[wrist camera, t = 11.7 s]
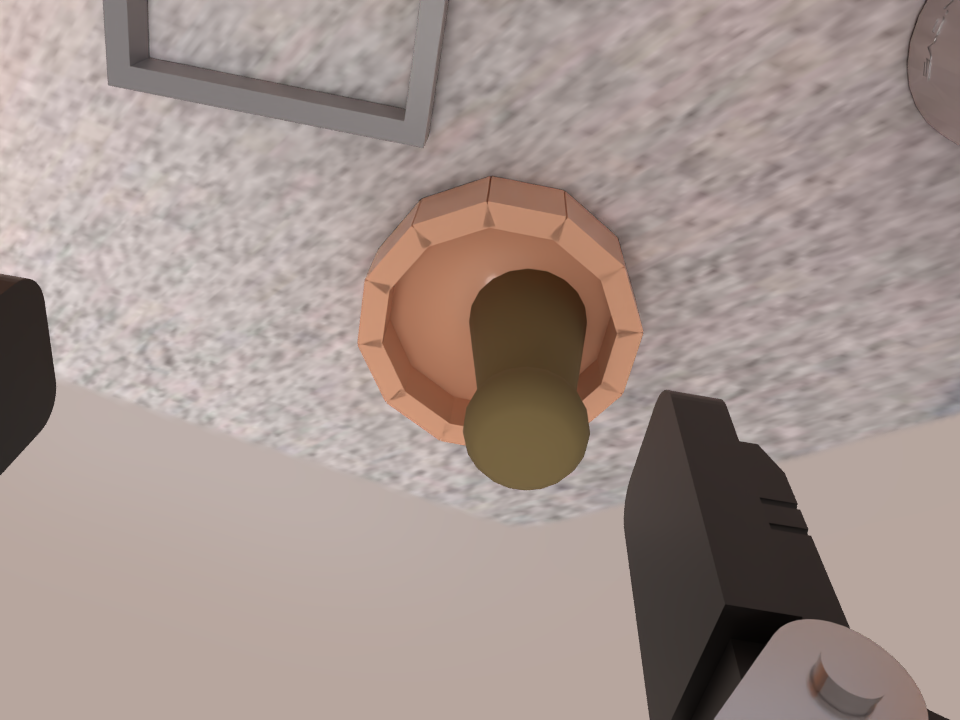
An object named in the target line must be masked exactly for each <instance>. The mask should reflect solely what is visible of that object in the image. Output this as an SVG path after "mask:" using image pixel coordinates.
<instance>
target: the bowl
mask: <svg viewBox="0 0 960 720" xmlns="http://www.w3.org/2000/svg"><path fill="white" fill-rule="evenodd" d="M528 268H529V269H535V270H542V271H548V272H550V273H552V274H554V275H556V276H558V277H560V278H562V279H564V280H565V281H567V282H568V283H569V284H570V285H571V286H572V287H573V288H574V289H575V290H576V291H577V292H578V294H579V296H580V298H581V300H582V302H583V304H584V306H585V310H586V318H587V327H586V334H585V340H584V347H583V353H582V360H581V366H580V373H579V379H578V386H577V393H578V394H579V396H580V398H581V400H582V402H583V403H584V405H585V407H586V409H587V414H588V422H589V423H590V422H591V421H592V420H593V419H594V418H596V417H597V416H598V415H599V414H600V413H601V412H603V411H604V410H605V409H606V408H607V407H608V406H610V405H611V404H612V403H613V402H614V401H616V400H617V399H618V398H619V397H620V396H621V395H622V393H623V392H624V389H625V386H626V383H627V380H628V377H629V374H630V371H631V369H632V366H633V363H634V360H635V357H636V354H637V351H638V348H639V345H640V342H641V339H642V336H643V329H642V325H641V320H640V316H639V312H638V308H637V304H636V300H635V296H634V293H633V289H632V286H631V282H630V279H629V275H628V272H627V268H626V265H625V261H624V258H623V254H622V251H621V247H620V244H619V240H618V238H617V236H616V235H615V234H613V233H612V232H611V231H610V230H609V229H608V228H607V227H605V226H604V225H603V224H602V223H601V222H600V221H599V220H597V219H596V218H595V217H594V216H593V215H592V214H591V213H590V212H588V211H587V210H586V209H585V208H584V207H583V206H582V205H580V204H579V203H578V202H577V201H576V200H575V199H574V198H572V197H571V196H570V195H569V194H568V193H567V192H566V191H565V192H564V190H560V189H554V188H549V187H544V186H539V185H534V184H529V183H524V182H519V181H514V180H509V179H504V178H499V177H494V176H492V178H490V176H489V177H486V178H483V179H480V180H477V181H474V182H471V183H468V184H465V185H462V186H459V187H456V188H453V189H450V190H447V191H443V192H440V193H437V194H434V195H431V196H428V197H425V198H422V200H420V201H419V202H418V203H417V204H416V206H415V207H414V208H413V209H412V210H411V211H410V213H409V214H408V215H407V216H406V217H405V218H404V220H403V221H402V222H401V223H400V224H399V225H398V227H397V228H396V229H395V230H394V231H393V233H392V234H391V235H390V236H389V237H388V238H387V240H386V241H385V242H384V243H383V244H382V245H381V247H380V248H379V249H378V251H377V253H376V255H375V258H374V260H373V262H372V265H371V267H370V269H369V272H368V274H367V276H366V279H365V283H364V292H363V300H362V309H361V317H360V326H359V334H358V343H357V344H358V347H359V349H360V351H361V353H362V355H363V357H364V359H365V361H366V363H367V365H368V367H369V369H370V371H371V373H372V375H373V377H374V379H375V381H376V383H377V386H378V388H379V390H380V392H381V394H382V396H383V398H384V400H385V402H386V401H387V404H389V405H390V406H392V407H393V408H394V409H396V410H397V411H399V412H400V413H402V414H403V415H404V416H406V417H407V418H409V419H410V420H411V421H413V422H414V423H416V424H417V425H418V426H420V427H421V428H423V429H424V430H426V431H427V432H428V433H430V434H431V435H433V436H434V437H435V438H437V439H438V440H440V439H441V441H444V442H449V443H455V444H460V445H466V444H465V439H464V435H463V426H464V420H465V413H466V407H467V406H468V404H469V402H470V400H471V399H472V397H473V395H474V394H475V392H476V390H477V384H476V376H475V368H474V360H473V351H472V343H471V335H470V327H469V318H470V311H471V306H472V304H473V302H474V300H475V298H476V296H477V294H478V293H479V291H480V290H481V289H482V288H483V287H484V286H485V285H486V284H488V283H489V282H490V281H491V280H492V279H493V278H496V277H498V276H500V275H502V274H504V273H506V272H509V271H514V270H521V269H528Z"/></svg>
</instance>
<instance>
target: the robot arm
mask: <svg viewBox="0 0 960 720" xmlns="http://www.w3.org/2000/svg"><path fill="white" fill-rule="evenodd" d="M907 65H908V76H909V87H910V90H911V93H912V96H913V99H914V102H915V104H916V107H917V108H918V110H919V111H920V113H921V114H922V116H923V117H924V119H925V120H926V121H927V123H928V124H930V125H931V126H932V127H933V128H934V129H936V130H937V131H938V132H939V133H940V134H942V135H943V136H945V137H946V138H948V139H949V140H951V141H953V142H954V143H956V144H958V145H959V146H960V0H927V2H926V4H925V6H924V8H923V10H922V11H921V13H920V15H919V17H918V20H917V23H916V26H915V29H914V32H913V35H912V38H911V42H910V49H909V57H908V64H907ZM55 396H56V379H55V372H54V365H53V358H52V351H51V344H50V337H49V330H48V322H47V315H46V308H45V301H44V296H43V293H42V290H41V288H40V287H39V285H38V284H37V283H36V282H35V281H33V280H31V279H27V278H21V277H16V276H10V275H4V274H0V475H1V474H2V473H3V472H4V471H5V470H6V468H7V467H8V466H9V465H10V464H11V463H12V462H13V461H14V460H15V459H16V458H17V457H18V455H19V454H20V453H21V452H22V451H23V450H24V449H25V448H26V447H27V446H28V445H29V443H30V442H31V441H32V440H33V439H34V438H35V437H36V436H37V435H38V433H39V432H40V431H41V430H42V429H43V428H44V426H45V425H46V423H47V421H48V419H49V417H50V414H51V412H52V409H53V406H54V401H55ZM624 531H625V539H626V546H627V553H628V560H629V569H630V576H631V583H632V591H633V598H634V606H635V613H636V621H637V628H638V636H639V642H640V650H641V658H642V666H643V673H644V680H645V688H646V695H647V703H648V710H649V717H650V720H949V719H947V718H944V717H942V716H940V715H938V714H936V713H934V712H932V711H930V710H928V709H927V708H926V704H925V701H924V699H923V696H922V694H921V692H920V690H919V688H918V687H917V685H916V683H915V682H914V680H913V679H912V677H911V676H910V675H909V674H908V672H907V671H906V670H905V668H904V667H903V666H902V665H901V664H900V663H899V662H898V661H897V660H896V659H895V658H894V657H893V656H891V655H890V654H889V653H888V652H887V651H885V650H884V649H883V648H882V647H881V646H879V645H878V644H876V643H875V642H873V641H872V640H871V639H869V638H867V637H865V636H863V635H861V634H860V633H858V632H856V631H854V630H852V629H850V628H849V625H848V623H847V620H846V618H845V615H844V613H843V611H842V608H841V606H840V603H839V601H838V599H837V596H836V594H835V592H834V589H833V587H832V585H831V582H830V580H829V577H828V575H827V572H826V570H825V568H824V565H823V563H822V561H821V558H820V556H819V554H818V551H817V549H816V547H815V544H814V542H813V539H812V537H811V536H809V535H808V534H807V532H808V527H807V525H806V523H805V521H804V518H803V515H802V513H801V511H800V510H798V509H797V501H796V499H795V496H794V494H793V492H792V489H791V487H790V485H789V482H788V480H787V477H786V475H785V473H784V472H783V471H782V470H781V469H780V468H779V467H778V466H777V464H776V463H775V462H774V461H773V460H772V459H771V458H770V457H769V456H768V455H767V454H766V453H765V452H764V451H763V450H762V448H761V447H760V446H759V445H758V444H752V443H746V442H741V441H739V439H738V437H737V434H736V431H735V428H734V426H733V423H732V420H731V417H730V415H729V412H728V409H727V406H726V404H725V402H724V401H723V400H721V399H716V398H710V397H705V396H699V395H693V394H687V393H681V392H675V391H670V390H664V391H663V392H662V393H661V394H660V396H659V397H658V399H657V402H656V404H655V407H654V410H653V413H652V416H651V419H650V422H649V425H648V428H647V431H646V434H645V437H644V439H643V442H642V445H641V448H640V451H639V454H638V457H637V460H636V463H635V466H634V469H633V472H632V475H631V478H630V481H629V485H628V489H627V494H626V500H625V508H624Z"/></svg>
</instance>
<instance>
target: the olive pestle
mask: <svg viewBox="0 0 960 720" xmlns="http://www.w3.org/2000/svg"><path fill="white" fill-rule="evenodd" d="M469 327H470V335H471V343H472V351H473V360H474V368H475V376H476V384H477V390H476V392H475V394H474V395H473V397H472V399H471V400H470V402H469V404H468V406H467V407H466V413H465V420H464V426H463V435H464V439H465V444H466V448H467V452H468V455H469V456H470V458H471V459H472V461H473V462H474V464H475V465H476V467H477V468H478V469H479V470H480V471H481V472H482V473H484V474H485V475H486V476H487V477H489V478H490V479H491V480H492V481H494V482H496V483H498V484H501V485H503V486H505V487H508V488H512V489H519V490H534V489H542V488H545V487H548V486H551V485H553V484H556V483H558V482H559V481H561V480H562V479H563V478H565V477H566V476H567V475H569V474H570V473H571V472H573V471H574V470H575V468H576V467H577V466H578V464H579V463H580V461H581V460H582V459H583V457H584V454H585V451H586V448H587V444H588V440H589V436H590V430H589V422H588V414H587V409H586V407H585V405H584V403H583V402H582V400H581V398H580V396H579V394H578V393H577V386H578V379H579V373H580V366H581V360H582V353H583V347H584V340H585V334H586V327H587V318H586V310H585V306H584V304H583V302H582V300H581V298H580V296H579V294H578V292H577V291H576V290H575V289H574V288H573V287H572V286H571V285H570V284H569V283H568V282H567V281H565V280H564V279H562V278H560V277H558V276H556V275H554V274H552V273H550V272H548V271H542V270H535V269H529V268H528V269H521V270H514V271H509V272H506V273H504V274H502V275H500V276H498V277H496V278H493V279H492V280H491V281H490V282H489V283H488V284H486V285H485V286H484V287H483V288H482V289H481V290H480V291H479V293H478V294H477V296H476V298H475V300H474V302H473V304H472V306H471V311H470V318H469Z"/></svg>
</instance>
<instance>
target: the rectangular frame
mask: <svg viewBox="0 0 960 720" xmlns="http://www.w3.org/2000/svg"><path fill="white" fill-rule="evenodd" d="M448 3H449V0H420V6H419V13H418V21H417V29H416V36H415V44H414V51H413V59H412V67H411V74H410V82H409V89H408V97H407V105H406V109H402V108H397V107H392V106H387V105H382V104H377V103H372V102H368V101H363V100H358V99H353V98H348V97H343V96H338V95H333V94H328V93H323V92H318V91H313V90H308V89H303V88H298V87H293V86H288V85H283V84H278V83H273V82H268V81H263V80H258V79H253V78H248V77H243V76H238V75H233V74H228V73H223V72H218V71H213V70H208V69H203V68H198V67H193V66H188V65H183V64H178V63H173V62H168V61H164V60H159V59H154V58H149V38H148V9H147V0H103V11H104V28H105V44H106V60H107V76H108V85H109V86H114V87H119V88H124V89H129V90H134V91H139V92H145V93H150V94H155V95H160V96H165V97H170V98H175V99H180V100H185V101H190V102H195V103H200V104H205V105H210V106H215V107H220V108H225V109H230V110H235V111H240V112H245V113H250V114H255V115H260V116H265V117H270V118H275V119H280V120H285V121H290V122H295V123H300V124H305V125H310V126H315V127H320V128H325V129H330V130H335V131H340V132H346V133H351V134H356V135H361V136H366V137H371V138H376V139H381V140H386V141H391V142H396V143H401V144H406V145H411V146H416V147H421V148H424V146H425V143H426V141H427V139H428V136H429V130H430V124H431V117H432V110H433V104H434V97H435V90H436V83H437V77H438V70H439V63H440V57H441V50H442V43H443V36H444V30H445V23H446V16H447V10H448Z"/></svg>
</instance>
